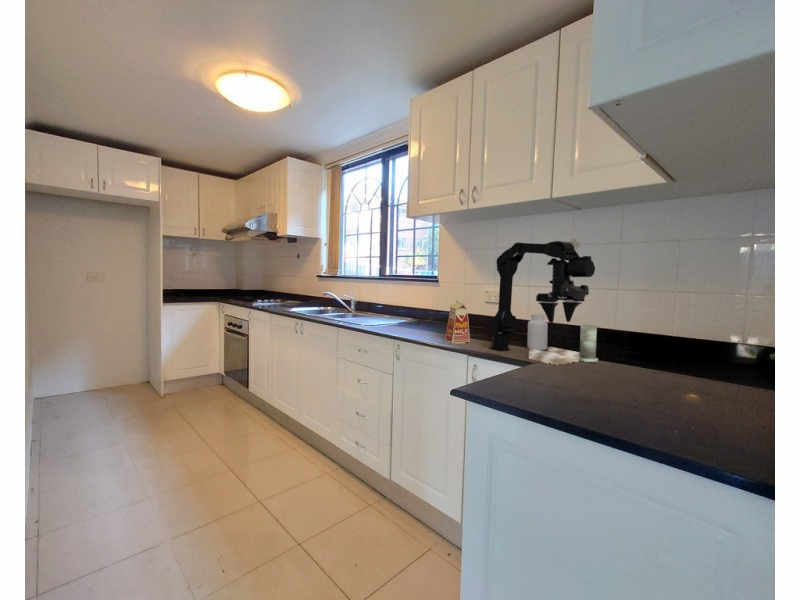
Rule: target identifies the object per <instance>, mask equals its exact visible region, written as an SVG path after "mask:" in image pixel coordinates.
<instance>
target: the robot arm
mask: <svg viewBox="0 0 800 600" xmlns="http://www.w3.org/2000/svg"><path fill="white" fill-rule="evenodd" d="M526 253H527V254H541V255H545V256H548V257H551V260H550V261H548V262H547V263H546V264H547V266H552V276H551V277H552V278H551V279H552V280H549V284H551V291H548V292H547V293H545V292H542V293H541V292H540V293H539V292H538V293H537V294H536V296H535V297H536V298H535V301H536V302H538V304H539V305H540V306H541V308H542V310H543V312H544V313H545V314H544V315H546V318H547V320H548V322H549V323H551V324H553V323H554V319H555V309H556V307H557V306H558V305H559V302H558V301H562V303H561V304H562V307H563V311H564V317H565V319H566V322H568V323H569V322H571V320H572V318H573V316H574V313H575V310H576V308H577V307H578V306H580V305H582V303H583V302H585V298H586V296H588V295H590V290H589V289H590V288H589V286H588V285H586V284H581V285H575V282H574V280H571V278H591V277H593V276H594V274H595V271H596V266H595V263H594V262H593V260H592V256H591V255H590V256H589V255H584V256H580V255H579V254H578V252H577V251H576V250H575V247H574V244H573V243H572V242H571V241H561V240H556V241H549V242H546V243H533V242H532V243H529V242H528V243H526V242H520V241H519V242H515V243H514V244H513V245H512V246H511V247H510V248H508V249H506V250H504V251H503V252H502V253H501V254H500V255H498V257H497V258H496V270H497V272H498V275H499V277H500V279H499V294H498V295H499V297H498V310H497V312H496V314H495V315H494V316H493V321H492V322H493V323H492V324H491V326H490V327H488V329H487V333H488V335H490V336H491V346H489V347H488V349H489V350H490V349H491V350H495V351H499V352H502V351H510V350H511V348H510V347H509V336H511V335H512V334H513V330H514V329H515V327H516V320H517V319H516V318H517V316H516V315H513V313H512V311H511V310H512V293H513V282H514V281H513V279H514V276H515V274H516V272H517V270H518V266H519V263H521V261H523V259H524V255H526ZM557 258H558V259H557Z"/></svg>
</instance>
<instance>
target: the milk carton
mask: <svg viewBox="0 0 800 600" xmlns="http://www.w3.org/2000/svg"><path fill="white" fill-rule="evenodd" d="M464 305H465V303H463V302H461V301H459V300H458V299H455V302H454V303H452V304H451V305H450V308H449V315H448V319H447V320H448V321H447V327H446V332H445V337H444V341H445V340H447V341H449V342H452V343H451V344H466V343H465V342H470V324H469V316H468V315H469V313H468V309H467V308H466V306H464ZM449 342H448V343H449Z"/></svg>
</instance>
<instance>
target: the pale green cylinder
mask: <svg viewBox="0 0 800 600" xmlns="http://www.w3.org/2000/svg"><path fill="white" fill-rule="evenodd" d="M597 334H598V326H597V325H595V324H594V325H593V324H591V325H590V324H580V335H579V336H580V341H579V362H581V361H584V362H583V363H587V362H597V363H598V362H599V357H596V356H597Z"/></svg>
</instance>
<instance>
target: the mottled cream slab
mask: <svg viewBox="0 0 800 600" xmlns="http://www.w3.org/2000/svg"><path fill="white" fill-rule="evenodd" d="M579 356H580V351H573V350H570V349H564V348H559V347H554V346H547V350H535V349H528V359H530V360H534V361H537V362H542V363H545V364H549V363H551V364H550V365H553V364H555V365H554V366H560V365H559V364H562V365H568V364H567V363H569V364H573V363H572V362H575V363H579V362H580V361H579Z"/></svg>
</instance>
